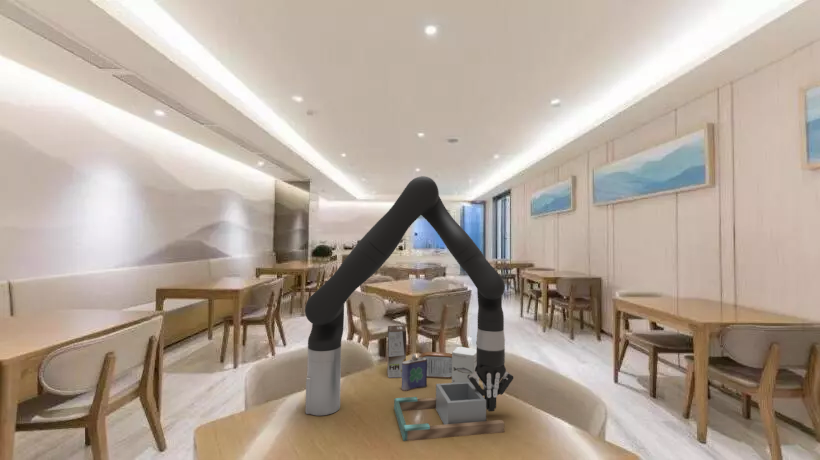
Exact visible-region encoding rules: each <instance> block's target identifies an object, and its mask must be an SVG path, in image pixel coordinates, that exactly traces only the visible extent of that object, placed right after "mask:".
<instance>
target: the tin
mask: <svg viewBox="0 0 820 460" xmlns="http://www.w3.org/2000/svg"><path fill="white" fill-rule="evenodd" d="M420 357H422V358H426V359H427V378H431V379H432V378H434V379H448V378H449V379H452V353H451V352H438V351H435V352H434V351H424V352H423V353H421V354H420V355H418V357H417V358H420Z"/></svg>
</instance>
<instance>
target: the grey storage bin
mask: <svg viewBox="0 0 820 460" xmlns="http://www.w3.org/2000/svg"><path fill="white" fill-rule="evenodd" d="M435 398H436V408H435V410H436V413H437V414H438V416H439V418H440V420H441V421H442V425H445V424H457V423H470V422H482V421H487V409H486V400H485V398H484V396H482V395H481V394H480V393H479V392H478V390H477V389H476V388H475V387H474V386H473V385H472V384H471V382H460V383H452V382H447V383H446V382H445V383H444V382H443V383H436V384H435Z"/></svg>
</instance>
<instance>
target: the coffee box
mask: <svg viewBox="0 0 820 460" xmlns="http://www.w3.org/2000/svg"><path fill="white" fill-rule="evenodd" d="M386 350H387V352H386V353H387V361H386V362H387V363H386V364H387V367H386V368H387V369H386V370H387V378H389V379H390V378H402V362H404V361H407V360H406V359H407V357H406V356H407V330H406V327H405V325H400V324H399V325H387V349H386Z"/></svg>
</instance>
